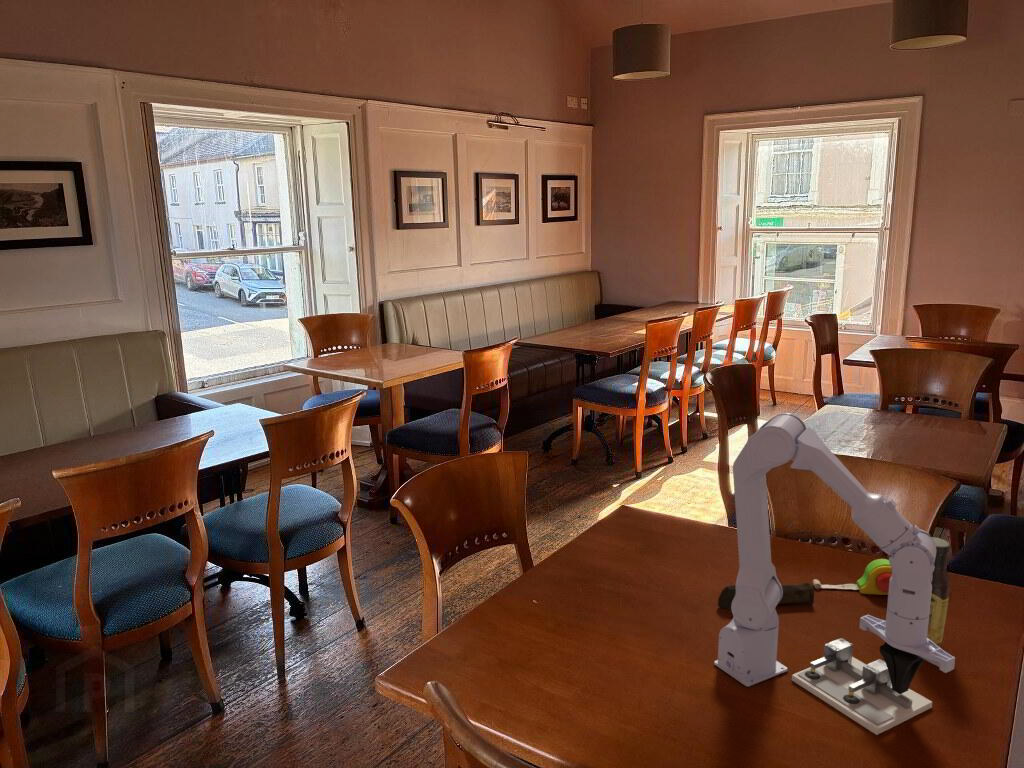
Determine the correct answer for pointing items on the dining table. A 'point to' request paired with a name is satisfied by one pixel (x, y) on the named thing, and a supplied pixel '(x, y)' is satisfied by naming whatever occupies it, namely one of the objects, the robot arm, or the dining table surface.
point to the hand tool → (789, 596)
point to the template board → (862, 697)
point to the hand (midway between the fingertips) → (900, 690)
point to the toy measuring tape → (868, 579)
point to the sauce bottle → (939, 593)
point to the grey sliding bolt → (872, 678)
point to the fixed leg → (834, 655)
